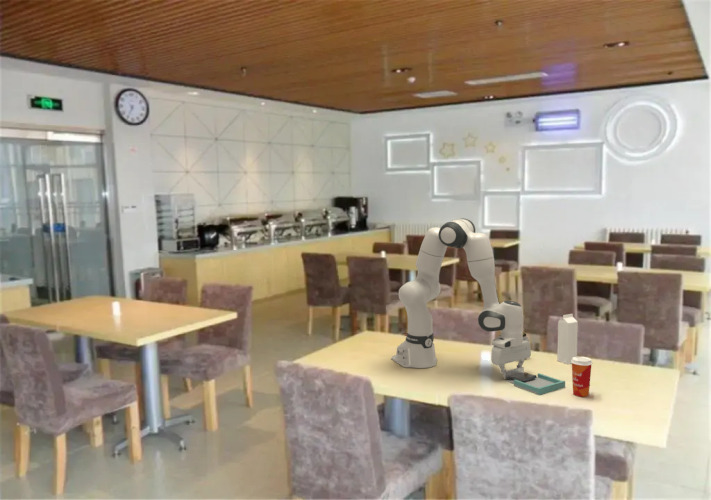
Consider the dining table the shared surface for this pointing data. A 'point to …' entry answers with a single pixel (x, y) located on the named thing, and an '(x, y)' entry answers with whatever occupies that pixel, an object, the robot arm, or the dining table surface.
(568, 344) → the milk
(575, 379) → the paper cup
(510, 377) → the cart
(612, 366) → the dining table surface
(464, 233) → the robot arm
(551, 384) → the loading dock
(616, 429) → the dining table surface
